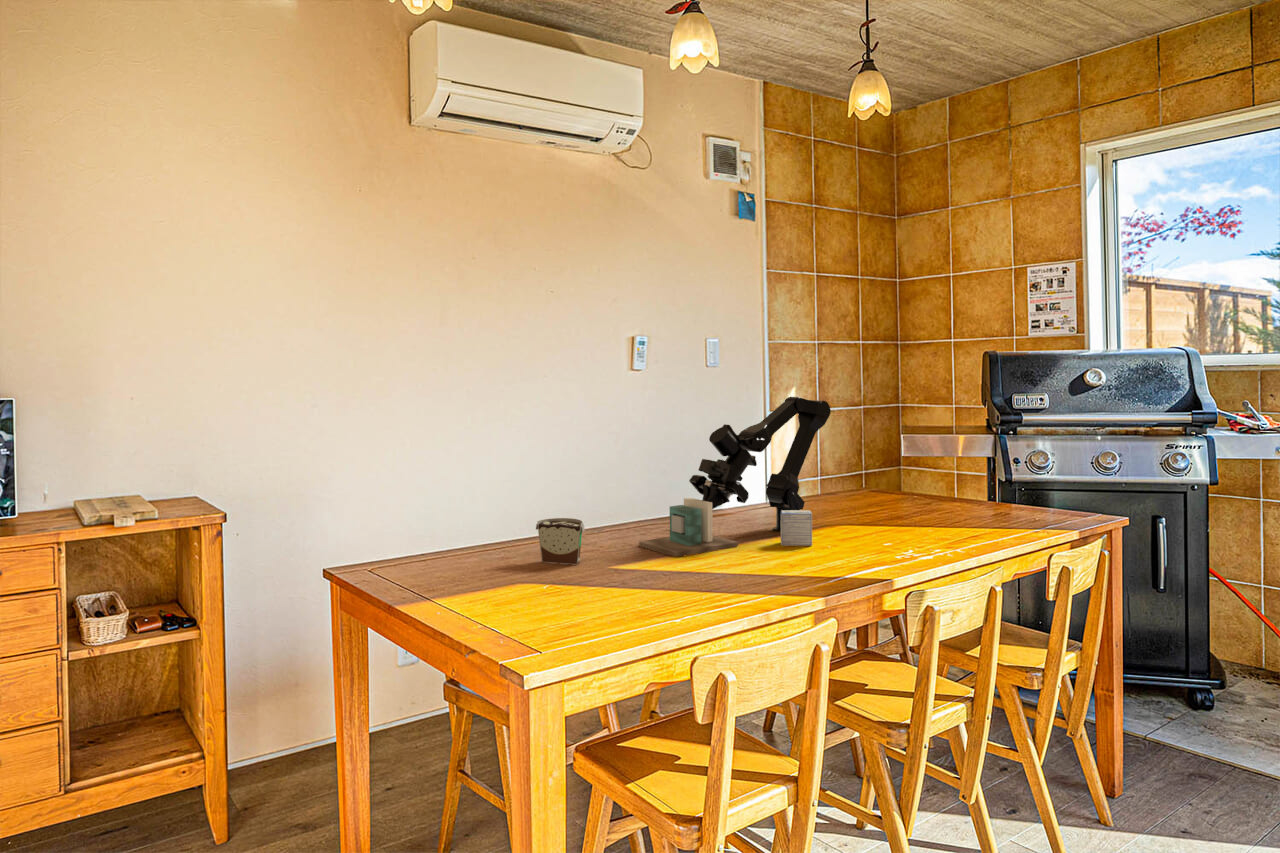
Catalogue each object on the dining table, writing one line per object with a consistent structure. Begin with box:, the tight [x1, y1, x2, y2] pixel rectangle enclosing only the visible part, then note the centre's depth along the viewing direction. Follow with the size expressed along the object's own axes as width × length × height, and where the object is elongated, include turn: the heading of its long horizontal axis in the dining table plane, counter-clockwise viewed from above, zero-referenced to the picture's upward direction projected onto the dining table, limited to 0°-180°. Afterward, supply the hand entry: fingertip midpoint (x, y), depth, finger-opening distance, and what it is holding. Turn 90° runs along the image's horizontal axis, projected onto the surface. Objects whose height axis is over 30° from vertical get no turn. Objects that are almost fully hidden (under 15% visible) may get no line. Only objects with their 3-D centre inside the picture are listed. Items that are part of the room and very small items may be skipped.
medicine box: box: [780, 509, 813, 547], centre depth 221 cm, size 8×4×9 cm, turn 84°
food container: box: [535, 517, 586, 566], centre depth 206 cm, size 12×6×10 cm, turn 71°
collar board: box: [638, 504, 739, 558], centre depth 220 cm, size 20×16×10 cm
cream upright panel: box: [672, 497, 713, 542], centre depth 220 cm, size 8×10×10 cm
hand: (700, 513), depth 222 cm, fingers closed, pressing on cream upright panel
